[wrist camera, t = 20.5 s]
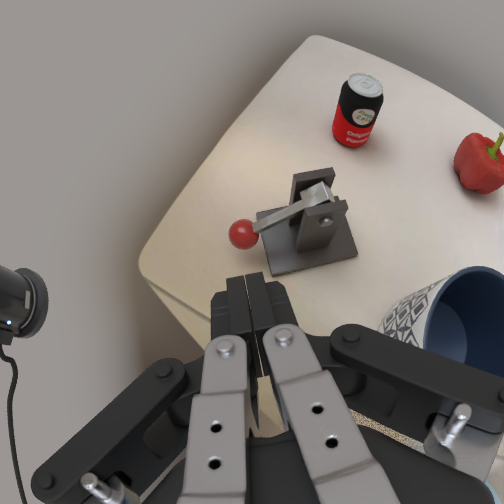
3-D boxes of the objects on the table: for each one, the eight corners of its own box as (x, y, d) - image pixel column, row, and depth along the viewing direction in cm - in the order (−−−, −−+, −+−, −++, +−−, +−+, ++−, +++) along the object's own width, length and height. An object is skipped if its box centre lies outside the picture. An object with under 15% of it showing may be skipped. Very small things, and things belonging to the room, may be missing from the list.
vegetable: (459, 143, 48) (482, 111, 39) (496, 178, 46) (524, 151, 36) (438, 173, 46) (465, 140, 37) (480, 213, 44) (512, 186, 34)
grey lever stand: (271, 277, 42) (274, 244, 30) (256, 216, 45) (253, 165, 33) (356, 256, 42) (387, 218, 30) (336, 199, 45) (357, 147, 33)
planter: (423, 425, 34) (482, 445, 21) (349, 357, 38) (390, 358, 24) (481, 338, 37) (545, 325, 24) (416, 270, 41) (470, 235, 28)
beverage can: (323, 134, 49) (335, 82, 38) (343, 115, 50) (357, 65, 39) (354, 156, 47) (374, 106, 36) (373, 136, 49) (393, 87, 37)
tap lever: (243, 255, 40) (225, 251, 37) (237, 229, 41) (219, 223, 38) (340, 212, 33) (329, 203, 30) (330, 184, 34) (317, 173, 32)
